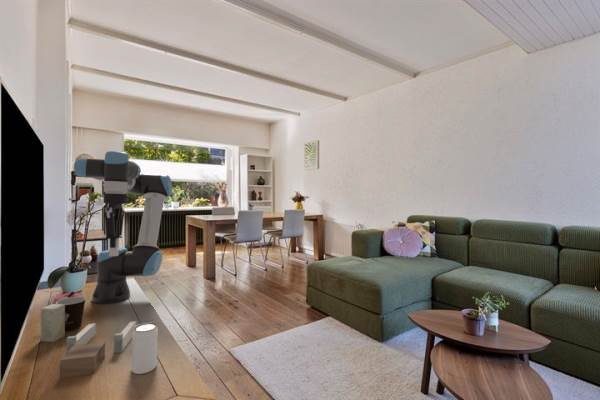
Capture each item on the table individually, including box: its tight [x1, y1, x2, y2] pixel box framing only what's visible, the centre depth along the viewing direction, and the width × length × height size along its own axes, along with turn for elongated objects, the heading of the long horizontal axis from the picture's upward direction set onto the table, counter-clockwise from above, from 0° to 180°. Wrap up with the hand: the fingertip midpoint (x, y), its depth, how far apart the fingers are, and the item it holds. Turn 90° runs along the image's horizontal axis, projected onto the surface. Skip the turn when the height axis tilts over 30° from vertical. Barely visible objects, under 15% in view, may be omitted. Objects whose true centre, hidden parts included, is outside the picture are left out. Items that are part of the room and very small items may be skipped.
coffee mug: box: [56, 296, 86, 333], centre depth 107 cm, size 12×9×10 cm
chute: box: [65, 320, 137, 354], centre depth 97 cm, size 14×15×6 cm
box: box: [40, 303, 66, 343], centre depth 99 cm, size 5×4×11 cm
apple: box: [53, 291, 84, 304], centre depth 117 cm, size 10×9×10 cm
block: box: [59, 342, 106, 379], centre depth 83 cm, size 8×8×5 cm
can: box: [130, 322, 159, 375], centre depth 84 cm, size 6×6×12 cm
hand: (113, 255), depth 110 cm, fingers closed
